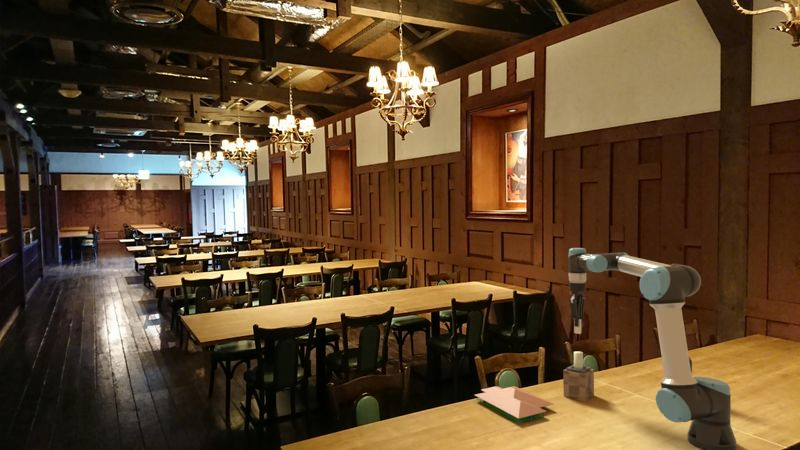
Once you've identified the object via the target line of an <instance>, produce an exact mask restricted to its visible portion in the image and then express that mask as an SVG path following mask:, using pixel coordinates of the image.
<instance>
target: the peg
mask: <svg viewBox="0 0 800 450" xmlns="http://www.w3.org/2000/svg"><path fill="white" fill-rule="evenodd" d="M573 364H574V369H579V370H583V366H584V352H583V351H573Z"/></svg>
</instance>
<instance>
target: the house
mask: <svg viewBox="0 0 800 450" xmlns="http://www.w3.org/2000/svg"><path fill="white" fill-rule="evenodd" d="M480 391H482V393H481V392H480V393H477V394H474V396H475V397H476V398H478V399H479V403H481V405H483V406H489V409H491V410H493V407H494V410H496V412H497V413H499V414H500V411H502V416H504V417H506V416H507V417H508V418H510V420H512V422H514V419H515V423H516V424H517V425H521V424H522V422H525V421H526V420H528V422H530V421H531V419H534V416H535V421H536V420H538V419H543V418H545V416H544V415H545V413H546V412H547V410H546V409H543V408H544V407H549V406H552V405H554V403H553V402H550V401H548V400H546V399H544V398H542V397H540V396H537V395H535V394H533V393H531V392H528V391H526V390H525V389H522V388H519V387H517V386H515V385H513V386H509V387H500V386H499V385H497V386H496V385H495V386H491V387H487V388H482V389H480Z"/></svg>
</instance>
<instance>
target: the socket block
mask: <svg viewBox="0 0 800 450" xmlns="http://www.w3.org/2000/svg"><path fill="white" fill-rule="evenodd" d="M562 371H563V375H562V376H563V378H562V380H563V397H565V398H570V399H573V400H576V401H577V400H578V401H580V402H581V401H582V402H586V401H588V400H589V399H591V398H592V397H594V396H595V375H594V374H595V372H594V371H595V370H594V369H593V368H592V367H590V366H586V365H583V370H579V369H574V363H573V364H572V365H570V366H568V367H566V368H565V369H563V370H562Z"/></svg>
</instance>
